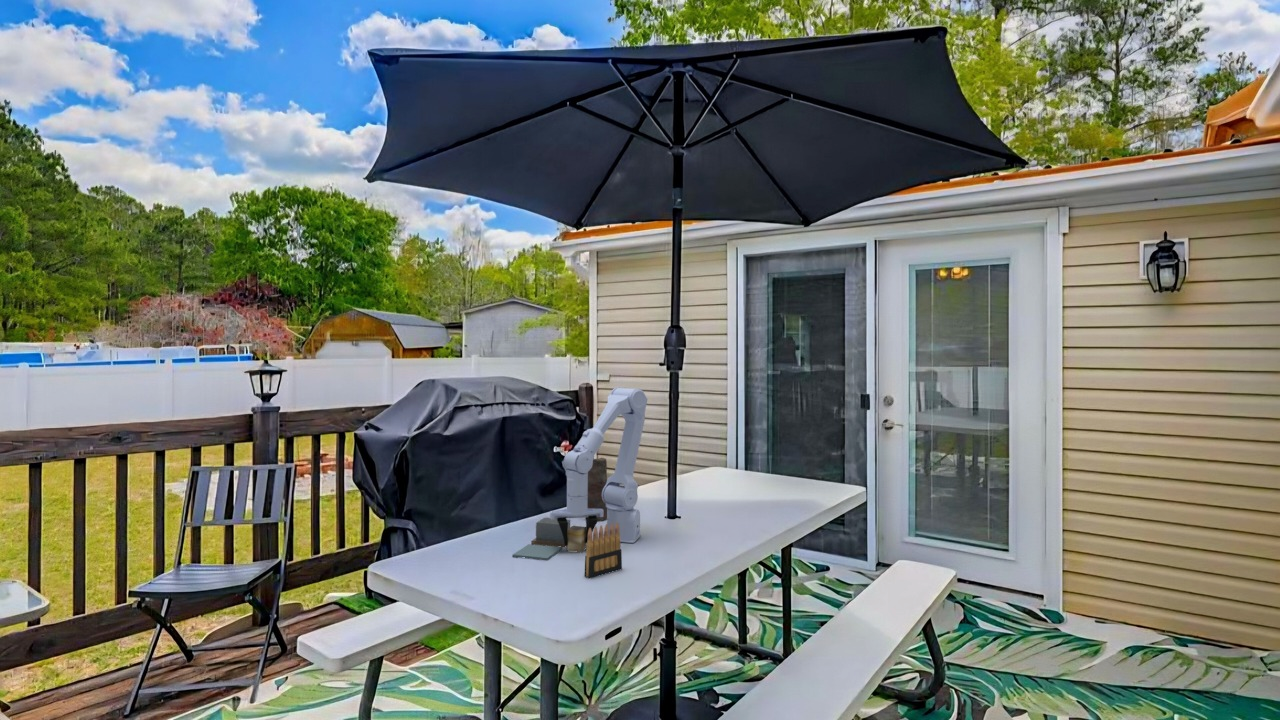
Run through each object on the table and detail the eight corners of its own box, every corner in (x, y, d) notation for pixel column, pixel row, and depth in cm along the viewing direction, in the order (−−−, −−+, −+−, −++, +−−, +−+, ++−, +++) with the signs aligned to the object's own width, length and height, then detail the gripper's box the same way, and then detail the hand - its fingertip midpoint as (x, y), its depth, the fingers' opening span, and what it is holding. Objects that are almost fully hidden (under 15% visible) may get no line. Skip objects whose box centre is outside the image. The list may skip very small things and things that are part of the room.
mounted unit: (574, 539, 196) (574, 519, 196) (564, 547, 188) (564, 526, 188) (542, 536, 198) (542, 516, 198) (531, 544, 191) (531, 523, 190)
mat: (561, 549, 186) (561, 547, 186) (547, 560, 176) (547, 558, 176) (528, 546, 189) (528, 544, 189) (512, 556, 179) (512, 554, 179)
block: (586, 548, 187) (586, 526, 187) (581, 552, 183) (581, 530, 183) (572, 547, 188) (572, 525, 188) (567, 551, 184) (567, 529, 184)
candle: (580, 520, 218) (581, 458, 218) (589, 515, 225) (589, 455, 225) (603, 522, 216) (603, 459, 215) (610, 516, 223) (611, 456, 222)
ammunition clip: (588, 578, 163) (589, 529, 163) (584, 576, 164) (584, 527, 164) (622, 569, 170) (622, 521, 170) (617, 567, 171) (617, 520, 171)
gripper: (600, 490, 191) (599, 538, 192) (548, 492, 188) (548, 541, 188) (605, 495, 185) (604, 545, 185) (552, 498, 181) (552, 548, 181)
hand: (576, 543), depth 186 cm, fingers closed on block, 5 cm apart
